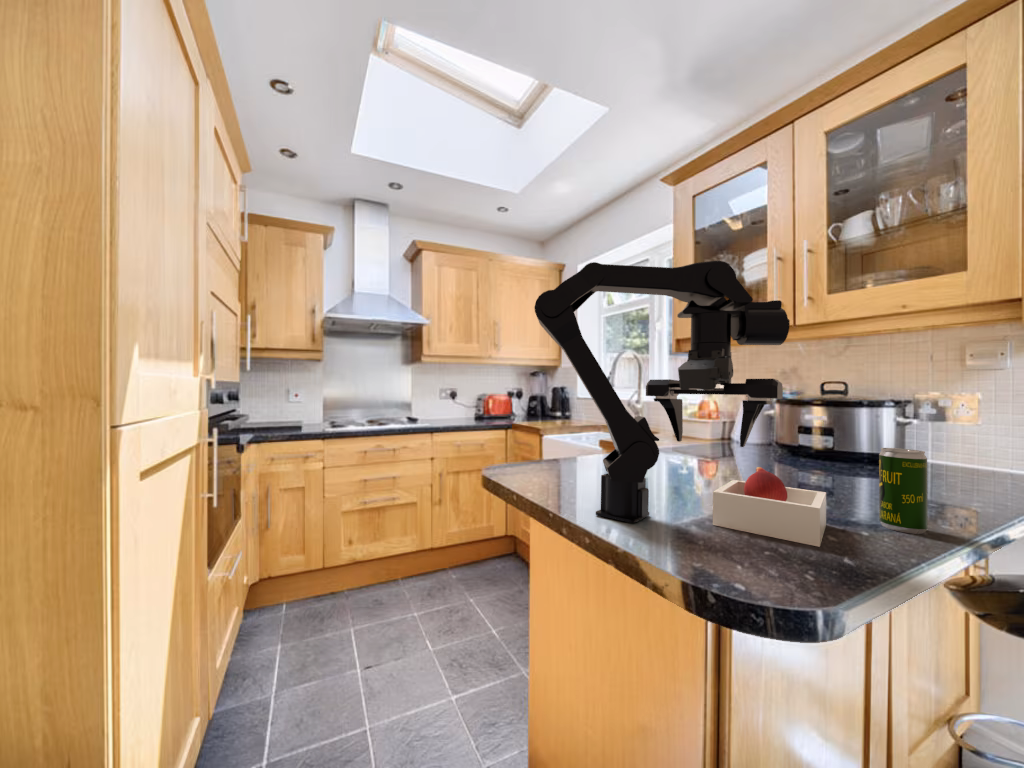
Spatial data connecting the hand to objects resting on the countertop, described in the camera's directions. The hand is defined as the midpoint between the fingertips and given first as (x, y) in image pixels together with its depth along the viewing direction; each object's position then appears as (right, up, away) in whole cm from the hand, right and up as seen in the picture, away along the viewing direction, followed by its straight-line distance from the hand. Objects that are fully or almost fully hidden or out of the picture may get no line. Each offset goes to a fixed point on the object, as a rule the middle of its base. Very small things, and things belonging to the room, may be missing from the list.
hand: (709, 444), depth 64 cm
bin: (+9, -12, -1) cm, 15 cm away
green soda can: (+29, -13, -2) cm, 32 cm away
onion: (+9, -11, -1) cm, 14 cm away
